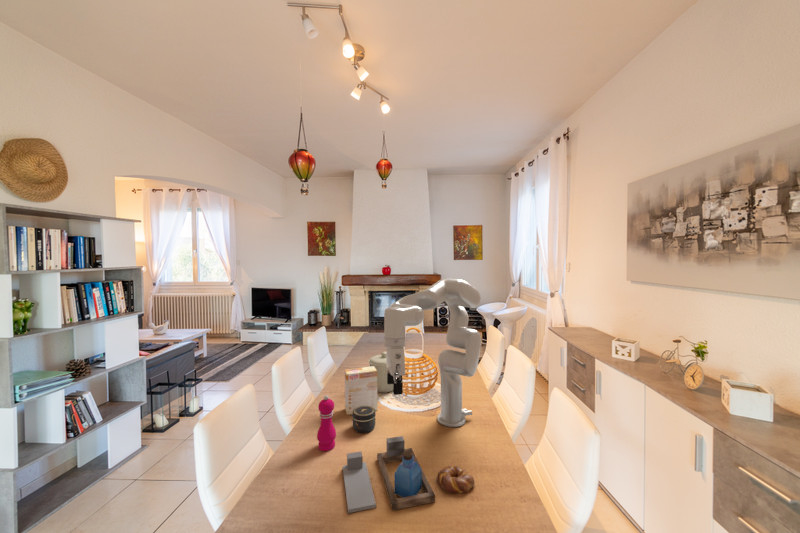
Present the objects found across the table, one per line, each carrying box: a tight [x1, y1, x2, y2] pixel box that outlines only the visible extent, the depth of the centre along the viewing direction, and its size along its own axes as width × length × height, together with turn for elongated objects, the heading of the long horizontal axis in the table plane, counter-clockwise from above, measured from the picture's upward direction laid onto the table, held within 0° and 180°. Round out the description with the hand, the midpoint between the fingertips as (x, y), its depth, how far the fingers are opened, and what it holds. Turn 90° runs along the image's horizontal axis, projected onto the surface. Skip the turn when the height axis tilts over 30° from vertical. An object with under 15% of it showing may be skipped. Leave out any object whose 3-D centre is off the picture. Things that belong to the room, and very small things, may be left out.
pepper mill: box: [316, 394, 337, 452], centre depth 122 cm, size 7×7×20 cm
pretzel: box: [436, 465, 475, 495], centre depth 102 cm, size 12×11×4 cm
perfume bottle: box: [393, 450, 423, 498], centre depth 99 cm, size 6×6×12 cm
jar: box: [351, 406, 376, 434], centre depth 136 cm, size 10×10×8 cm
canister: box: [368, 351, 393, 394], centre depth 177 cm, size 18×18×21 cm
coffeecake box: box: [344, 366, 378, 416], centre depth 153 cm, size 15×7×20 cm, turn 108°
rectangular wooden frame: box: [376, 435, 436, 511], centre depth 104 cm, size 13×24×7 cm, turn 15°
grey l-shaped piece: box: [342, 451, 377, 514], centre depth 101 cm, size 8×20×5 cm, turn 15°
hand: (394, 388), depth 114 cm, fingers open, 9 cm apart
